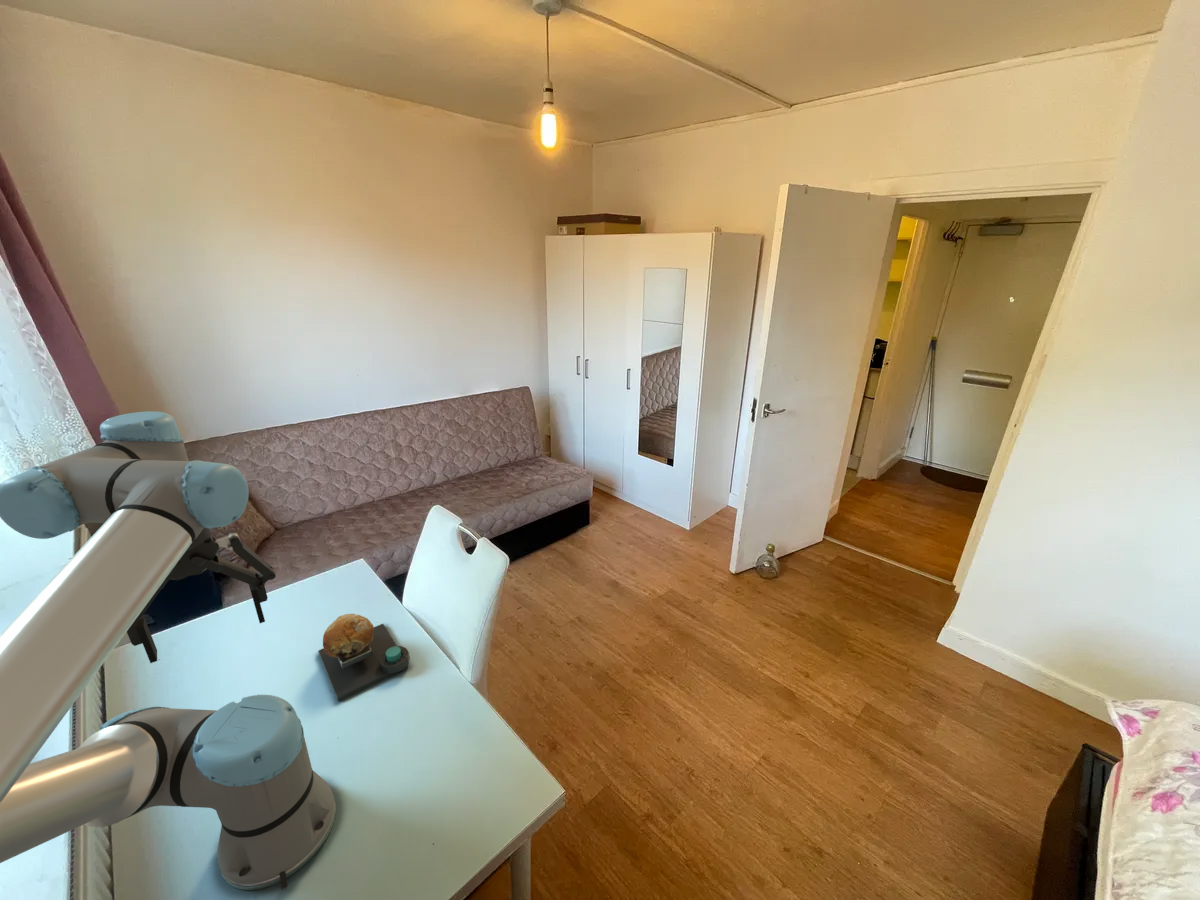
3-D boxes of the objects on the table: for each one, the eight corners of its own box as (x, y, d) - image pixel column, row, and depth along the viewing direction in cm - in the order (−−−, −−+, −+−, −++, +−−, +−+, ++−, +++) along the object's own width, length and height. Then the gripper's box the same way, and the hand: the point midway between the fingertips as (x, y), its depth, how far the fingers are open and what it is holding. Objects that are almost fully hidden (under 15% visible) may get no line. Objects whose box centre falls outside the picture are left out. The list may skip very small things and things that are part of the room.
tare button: (403, 658, 105) (402, 652, 105) (389, 665, 103) (388, 658, 103) (398, 650, 107) (397, 644, 107) (384, 656, 106) (383, 650, 105)
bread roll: (381, 647, 110) (385, 611, 111) (355, 663, 100) (359, 624, 101) (339, 642, 111) (343, 607, 112) (309, 658, 101) (314, 619, 101)
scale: (414, 668, 106) (412, 658, 105) (339, 705, 97) (336, 694, 96) (387, 625, 118) (386, 615, 117) (319, 654, 109) (316, 644, 108)
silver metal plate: (372, 655, 105) (371, 650, 105) (342, 669, 102) (341, 663, 101) (358, 629, 112) (357, 624, 112) (330, 641, 109) (329, 636, 108)
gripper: (269, 487, 80) (295, 593, 87) (48, 536, 64) (103, 659, 72) (277, 504, 74) (304, 615, 82) (38, 562, 59) (99, 692, 67)
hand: (210, 636), depth 77 cm, fingers open, 13 cm apart
